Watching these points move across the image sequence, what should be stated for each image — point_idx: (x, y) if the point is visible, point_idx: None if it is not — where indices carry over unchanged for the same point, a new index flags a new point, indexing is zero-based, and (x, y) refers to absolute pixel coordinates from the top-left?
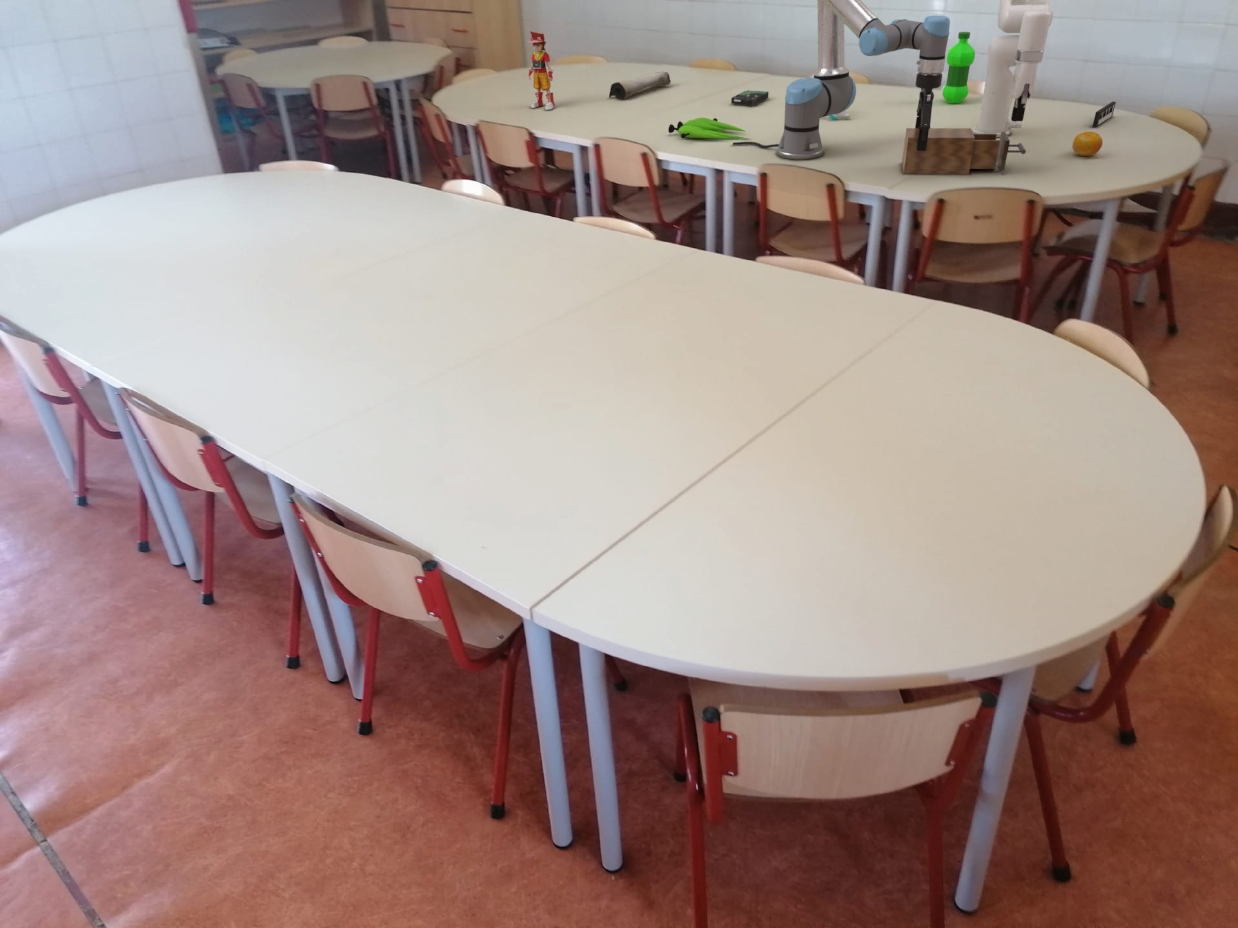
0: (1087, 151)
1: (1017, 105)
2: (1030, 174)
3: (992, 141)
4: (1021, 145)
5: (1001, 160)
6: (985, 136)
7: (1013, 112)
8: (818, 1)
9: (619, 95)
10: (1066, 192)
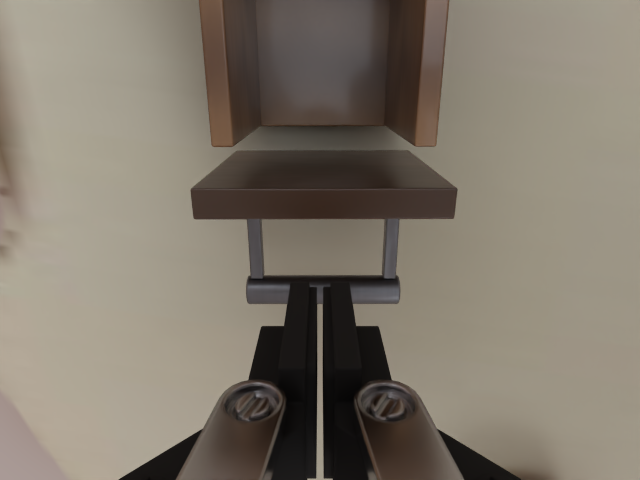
0: None
1: (215, 432)
2: None
3: (206, 80)
4: None
5: (244, 159)
6: (417, 47)
7: (283, 331)
8: None
9: None
10: (20, 377)
